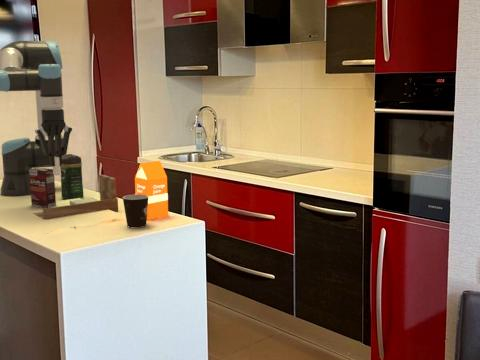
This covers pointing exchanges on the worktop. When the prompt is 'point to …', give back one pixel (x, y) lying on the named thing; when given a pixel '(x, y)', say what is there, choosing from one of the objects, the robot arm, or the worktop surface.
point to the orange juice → (153, 188)
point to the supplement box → (42, 187)
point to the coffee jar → (71, 177)
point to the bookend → (83, 201)
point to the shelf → (106, 202)
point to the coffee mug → (136, 209)
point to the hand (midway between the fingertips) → (56, 174)
